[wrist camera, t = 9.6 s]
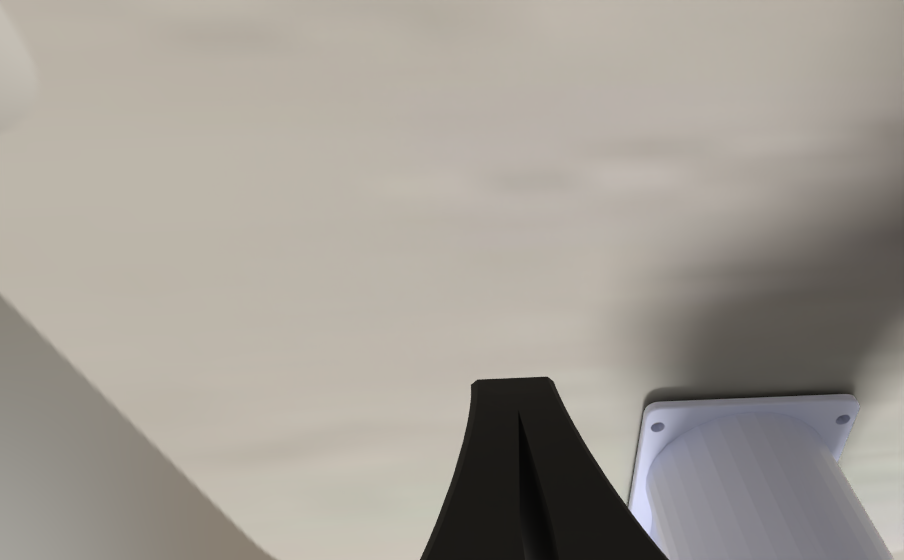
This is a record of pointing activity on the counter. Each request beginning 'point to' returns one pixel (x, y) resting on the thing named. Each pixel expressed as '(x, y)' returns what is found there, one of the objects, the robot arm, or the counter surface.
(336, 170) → the counter surface
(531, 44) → the counter surface
